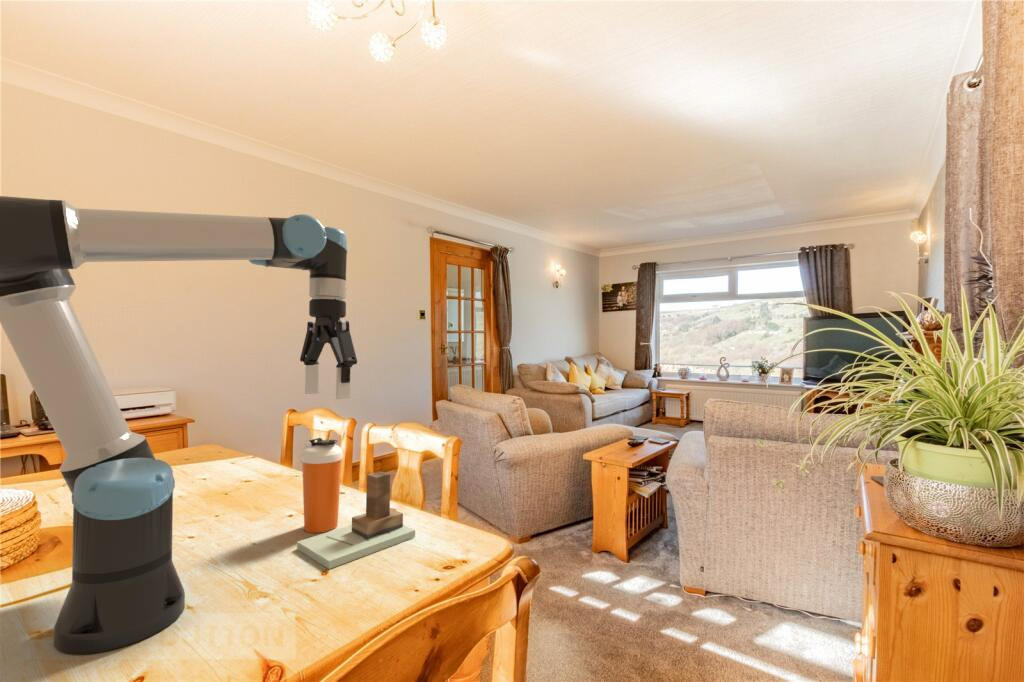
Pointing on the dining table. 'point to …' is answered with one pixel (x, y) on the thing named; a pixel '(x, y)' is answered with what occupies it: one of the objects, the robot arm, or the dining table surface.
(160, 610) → the robot arm
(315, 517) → the shaker bottle
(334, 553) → the board
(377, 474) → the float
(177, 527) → the dining table surface
